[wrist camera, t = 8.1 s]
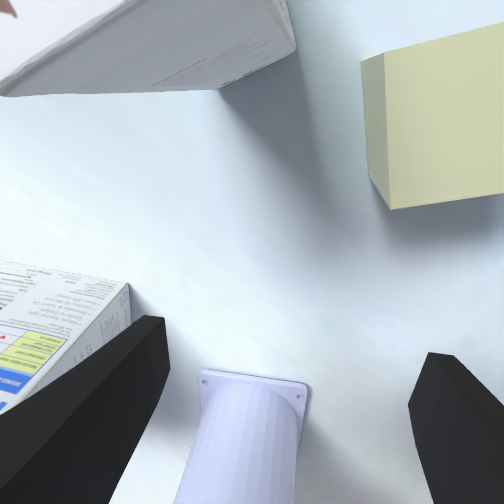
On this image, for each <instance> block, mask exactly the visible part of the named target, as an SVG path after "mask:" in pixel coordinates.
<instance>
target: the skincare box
mask: <svg viewBox="0 0 504 504" xmlns="http://www.w3.org/2000/svg"><path fill="white" fill-rule="evenodd" d="M295 50H296V42H295V37H294V33H293V28H292V24H291V20H290V16H289V12H288V8H287V4H286V0H0V96H4V97H20V96H32V95H46V94H63V93H75V94H97V93H134V92H163V91H187V90H217V89H220V88H222V87H224V86H226V85H228V84H230V83H232V82H234V81H236V80H238V79H241V78H243V77H245V76H247V75H249V74H251V73H253V72H255V71H257V70H259V69H261V68H264V67H266V66H268V65H270V64H272V63H274V62H276V61H278V60H280V59H282V58H284V57H286V56H288V55H290V54H291V53H293V52H294V51H295Z"/></svg>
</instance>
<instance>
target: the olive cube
mask: <svg viewBox="0 0 504 504" xmlns="http://www.w3.org/2000/svg"><path fill="white" fill-rule="evenodd" d="M361 74H362V89H363V103H364V118H365V132H366V147H367V161H368V175H369V177H370V179H371V180H372V182H373V183H374V185H375V186H376V188H377V190H378V191H379V193H380V194H381V196H382V197H383V199H384V201H385V202H386V204H387V205H388V207H389V208H390V210H393V209H400V208H406V207H413V206H420V205H427V204H433V203H440V202H447V201H453V200H460V199H467V198H474V197H480V196H487V195H494V194H501V193H504V22H501V23H498V24H494V25H490V26H486V27H482V28H478V29H474V30H470V31H467V32H463V33H459V34H455V35H451V36H447V37H443V38H439V39H436V40H432V41H428V42H424V43H420V44H416V45H412V46H408V47H405V48H401V49H397V50H393V51H389V52H385V53H382V54H380V55H377V56H374V57H372V58H369V59H366V60H364V61H361Z"/></svg>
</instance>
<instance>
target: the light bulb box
mask: <svg viewBox="0 0 504 504" xmlns="http://www.w3.org/2000/svg"><path fill="white" fill-rule="evenodd" d="M131 324H132V322H131V308H130V297H129V285H128V283H123V282H117V281H112V280H106V279H100V278H95V277H89V276H84V275H78V274H72V273H67V272H61V271H56V270H50V269H45V268H39V267H34V266H28V265H22V264H17V263H11V262H6V261H0V415H1V414H2V413H4V412H6V411H7V410H9V409H11V408H12V407H14V406H16V405H17V404H19V403H21V402H22V401H24V400H25V399H27V398H28V397H30V396H32V395H33V394H35V393H36V392H38V391H39V390H41V389H42V388H44V387H45V386H47V385H48V384H50V383H51V382H52V381H54V380H55V379H57V378H58V377H60V376H61V375H63V374H64V373H66V372H67V371H69V370H70V369H72V368H73V367H75V366H76V365H77V364H79V363H80V362H82V361H83V360H84V359H86V358H87V357H88V356H90V355H91V354H93V353H94V352H95V351H97V350H98V349H99V348H101V347H102V346H103V345H105V344H106V343H107V342H109V341H110V340H111V339H113V338H114V337H115V336H117V335H118V334H119V333H121V332H122V331H123V330H125V329H126V328H127V327H129V326H130V325H131Z"/></svg>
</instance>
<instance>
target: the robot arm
mask: <svg viewBox="0 0 504 504" xmlns="http://www.w3.org/2000/svg"><path fill="white" fill-rule="evenodd" d="M169 371H170V361H169V353H168V344H167V336H166V328H165V319H164V317H156V316H149V315H143V316H142V317H141V318H139V319H138V320H137V321H135V322H134V323H133V324H131V325H130V326H129V327H127V328H126V329H125V330H123V331H122V332H121V333H119V334H118V335H117V336H115V337H114V338H113V339H111V340H110V341H109V342H107V343H106V344H105V345H103V346H102V347H101V348H99V349H98V350H97V351H95V352H94V353H93V354H91V355H90V356H88V357H87V358H86V359H84V360H83V361H82V362H80V363H79V364H77V365H76V366H75V367H73V368H72V369H70V370H69V371H67V372H66V373H64V374H63V375H61V376H60V377H58V378H57V379H55V380H54V381H52V382H51V383H50V384H48V385H47V386H45V387H44V388H42V389H41V390H39V391H38V392H36V393H35V394H33V395H32V396H30V397H28V398H27V399H25V400H24V401H22V402H21V403H19V404H17V405H16V406H14V407H12V408H11V409H9V410H7V411H6V412H4V413H2V414H1V415H0V504H109V502H110V499H111V497H112V495H113V493H114V491H115V489H116V486H117V484H118V482H119V480H120V478H121V476H122V474H123V472H124V470H125V468H126V466H127V464H128V462H129V460H130V458H131V456H132V454H133V452H134V450H135V448H136V446H137V444H138V442H139V440H140V438H141V436H142V434H143V432H144V430H145V428H146V426H147V424H148V422H149V420H150V418H151V416H152V414H153V412H154V410H155V408H156V406H157V404H158V402H159V399H160V396H161V394H162V391H163V388H164V386H165V383H166V380H167V377H168V374H169ZM198 377H199V393H200V409H201V419H200V422H199V425H198V429H197V432H196V435H195V438H194V441H193V444H192V447H191V450H190V454H189V457H188V460H187V463H186V466H185V469H184V472H183V476H182V479H181V482H180V485H179V488H178V491H177V494H176V497H175V501H174V504H295V477H296V459H297V453H298V447H299V442H300V436H301V430H302V424H303V418H304V412H305V406H306V400H307V394H308V387H307V386H306V385H305V384H302V383H296V382H289V381H282V380H275V379H269V378H262V377H255V376H248V375H242V374H235V373H228V372H221V371H215V370H208V369H203V370H201V371H200V373H199V376H198ZM408 408H409V413H410V419H411V425H412V430H413V435H414V439H415V444H416V448H417V451H418V455H419V458H420V461H421V464H422V468H423V471H424V474H425V477H426V480H427V484H428V487H429V490H430V493H431V496H432V499H433V502H434V504H504V405H503V404H502V403H501V402H500V401H499V400H498V399H497V398H496V397H495V396H494V395H493V394H492V393H491V392H490V391H489V390H488V389H487V388H486V387H485V386H484V385H483V384H482V383H481V382H480V381H479V380H478V379H477V378H476V377H475V376H474V375H473V374H472V373H471V372H470V371H469V370H468V369H467V368H466V367H465V366H464V365H463V364H462V363H461V362H460V361H459V360H458V359H457V358H456V357H455V356H454V355H446V354H439V353H431V352H428V355H427V357H426V360H425V362H424V365H423V367H422V370H421V373H420V375H419V378H418V380H417V383H416V385H415V388H414V390H413V393H412V395H411V398H410V400H409V403H408Z"/></svg>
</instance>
